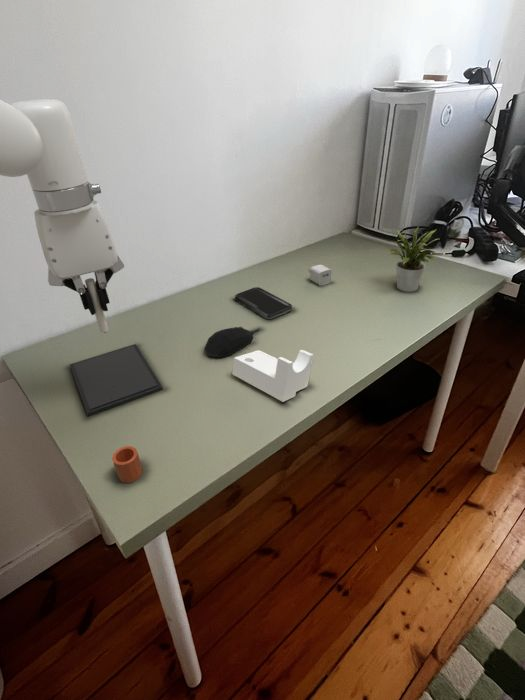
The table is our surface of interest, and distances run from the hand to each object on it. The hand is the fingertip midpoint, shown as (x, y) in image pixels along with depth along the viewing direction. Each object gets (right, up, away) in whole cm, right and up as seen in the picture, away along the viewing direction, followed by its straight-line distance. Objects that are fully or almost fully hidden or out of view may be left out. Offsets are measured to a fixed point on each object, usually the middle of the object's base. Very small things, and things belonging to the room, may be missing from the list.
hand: (98, 309), depth 73 cm
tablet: (-2, -13, +14) cm, 19 cm away
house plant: (+65, +9, +41) cm, 77 cm away
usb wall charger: (+43, +12, +48) cm, 66 cm away
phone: (+28, +5, +37) cm, 46 cm away
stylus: (0, -4, +3) cm, 5 cm away
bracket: (+30, -13, +11) cm, 34 cm away
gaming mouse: (+22, -5, +23) cm, 32 cm away
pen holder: (+8, -26, -7) cm, 28 cm away
